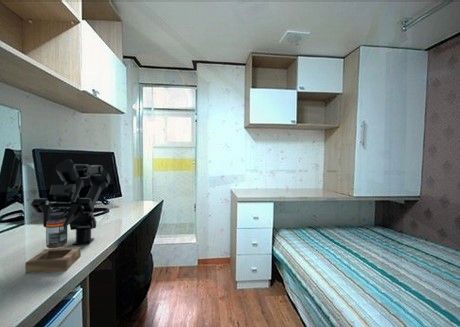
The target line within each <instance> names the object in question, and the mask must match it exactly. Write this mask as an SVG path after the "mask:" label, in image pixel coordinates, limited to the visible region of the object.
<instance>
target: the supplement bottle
mask: <svg viewBox="0 0 460 327" xmlns="http://www.w3.org/2000/svg"><path fill="white" fill-rule="evenodd" d="M66 218H67V217H65V212H63V211H57V212H54V213H51V214H50V219H49V220H48V221H47V222H46V227H45V243H46V244H45V246H46V248H47V249H57V248H63V247H64V246H66V245H67V244H68V226H66V227H65V226H64V224H65V221H66Z"/></svg>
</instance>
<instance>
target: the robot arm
mask: <svg viewBox="0 0 460 327" xmlns="http://www.w3.org/2000/svg"><path fill="white" fill-rule="evenodd" d="M54 169H55V171H56V173H57V175H58V176H59V178H60V179H61V181H62V182H64V184H51V187H50V191H49V195H51V196H53V198H52V199H53V200H54V201H50V200H49V199H48V198H45V197H43V198H41V197H40V198H34V199H33V200H32V201H31V203H30V206H31V207H32V208H33V209H34V210H35V212H36V213H38V214H43V224H42V226H43V228H46V222H47V221H48V220H49V219H50V214H51V213H55V212H54V211H53V210H54V208H56V209H57V208H58V209H70V210H69V212H68V213H67V216H66V217H65V218H66V221H65V224H64V226H65V227H66V226H67V227H68V226H69V228H70V230H71V231H74V230H75V241H74V242H73V243H72V246H74V245H75V246H80V245H90V244H91V243H92V242H93V241H94V240H95V238H94V237H92V230H93V229H96V228H97V220H96V217H95V215H94V209H95V206H96V204H97V202H98V199H99V197H100V195H101V193H102V191H103V190H104V189H106V188H108V186H109V184H110V182H111V177H110V174H109V172H108V171H107V170H106V169H104V167H103V165H101V164H92V165H90V164H88V163H87V164H84V163H82V164H81V163H78V164H77V163H74V162H73V160H72V159H65V160H64V161H62V162H59V163H58V164H57V165H55V168H54ZM83 179H88V180H89V183H90V185H91V187H90V188H89V190H88V193H87V194H86V196H85V197H80V191H81V189H82V188H84V187H85V184H84V180H83Z"/></svg>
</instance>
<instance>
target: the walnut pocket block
mask: <svg viewBox="0 0 460 327" xmlns="http://www.w3.org/2000/svg"><path fill="white" fill-rule="evenodd" d="M81 249H82V248H81V246H76V247H58V248H44V249H43V250H42V251H40V252H38V254H36V255H35V256H33V257H31V258H30V259H29V260H27V261H26V262H25V267H24V268H25V271H24V273H25V275H27V274H40V273H51V272H52V273H53V272H61V271H62V272H66V271H68V270H69V269H70V268H71V267H72V266H73V265H74V264H75V263H76V262H77V261H78V260H79V259H80V258H81V257H82V256H81V254H82V253H81V252H82V251H81Z"/></svg>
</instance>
